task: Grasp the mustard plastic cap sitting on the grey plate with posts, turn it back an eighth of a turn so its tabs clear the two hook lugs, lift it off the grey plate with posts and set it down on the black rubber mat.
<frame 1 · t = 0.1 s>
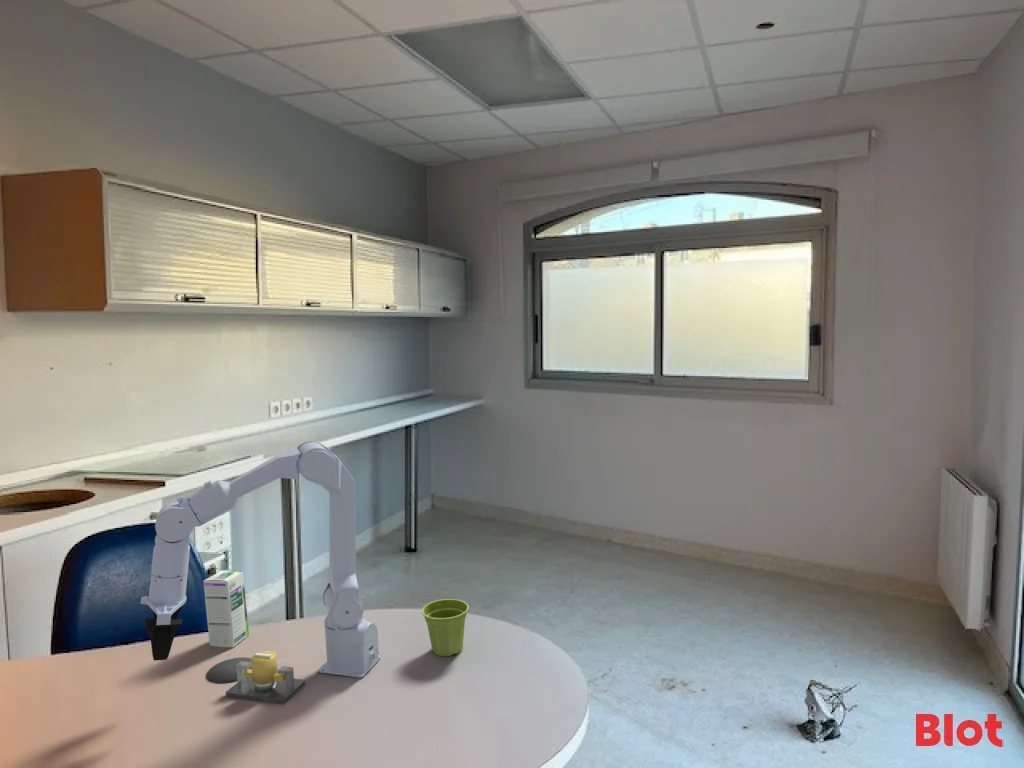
hand: (162, 649, 120), 11 cm above the table, tool pointing down, fingers open, 7 cm apart
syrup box: (229, 641, 145), on the table
plant pot: (447, 650, 138), on the table
grey plate with posts: (266, 690, 125), on the table
mat: (232, 670, 133), on the table
cap: (265, 677, 125), point 2 cm above the table, touching grey plate with posts
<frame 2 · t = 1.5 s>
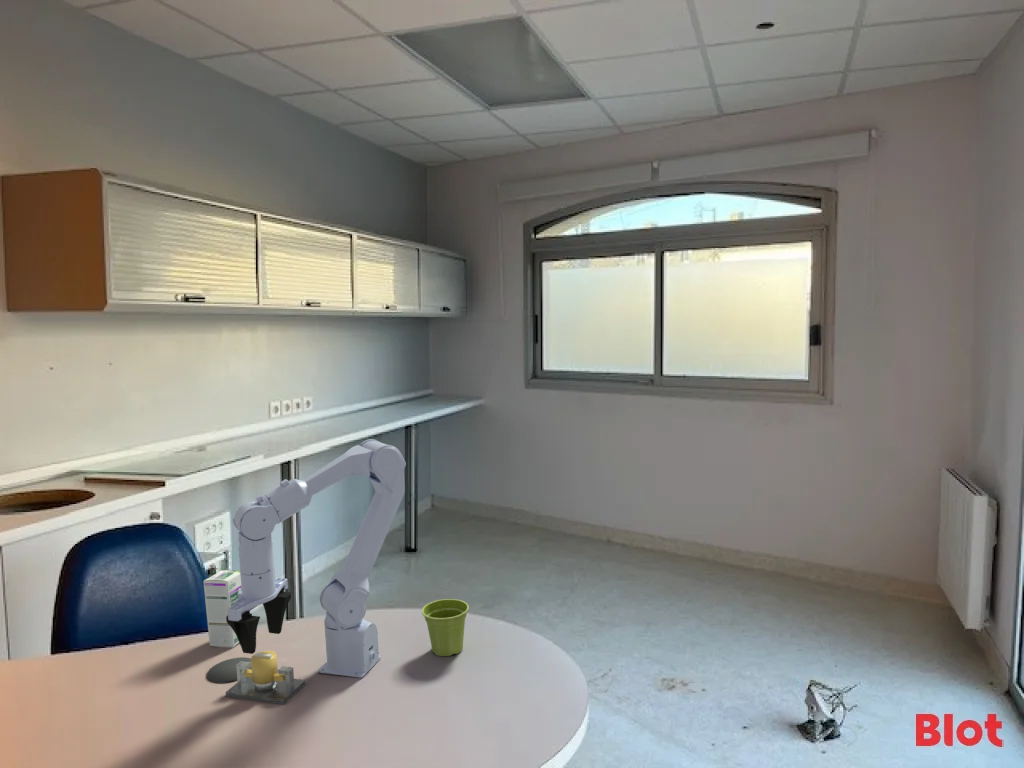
hand: (262, 642, 124), 9 cm above the table, tool pointing down, fingers open, 7 cm apart
nothing on the table moved.
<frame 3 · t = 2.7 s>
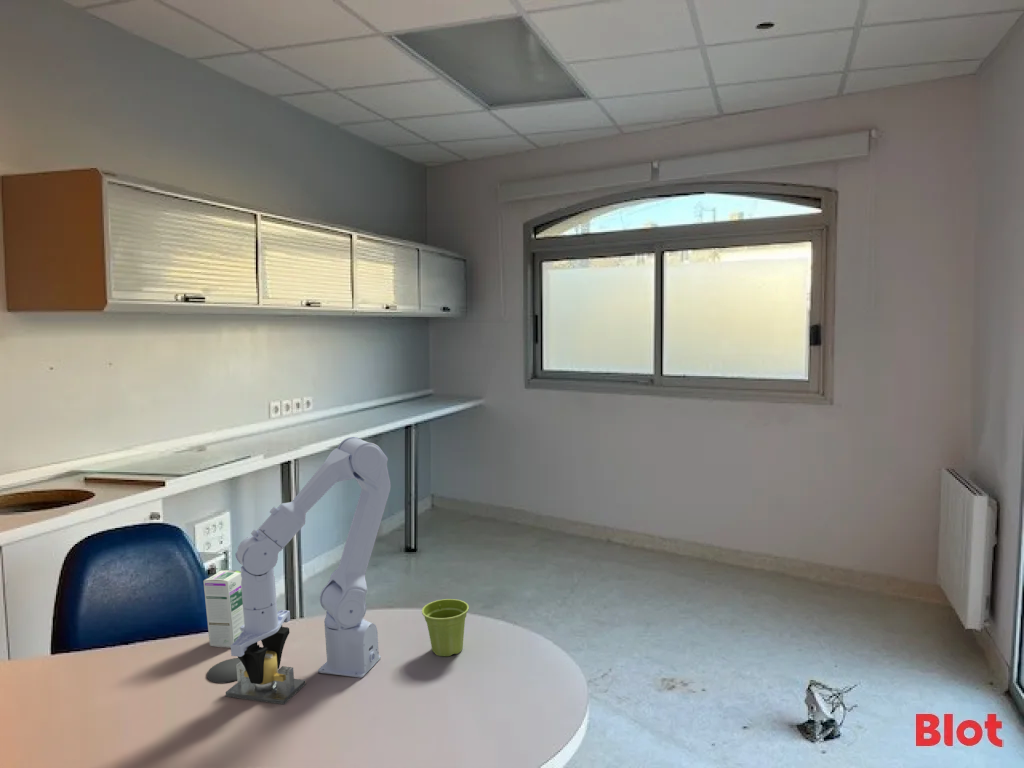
hand: (265, 675, 125), 3 cm above the table, tool pointing down, fingers closed on cap, 4 cm apart
cap: (265, 677, 125), point 2 cm above the table, touching grey plate with posts, gripper
everything else where it was.
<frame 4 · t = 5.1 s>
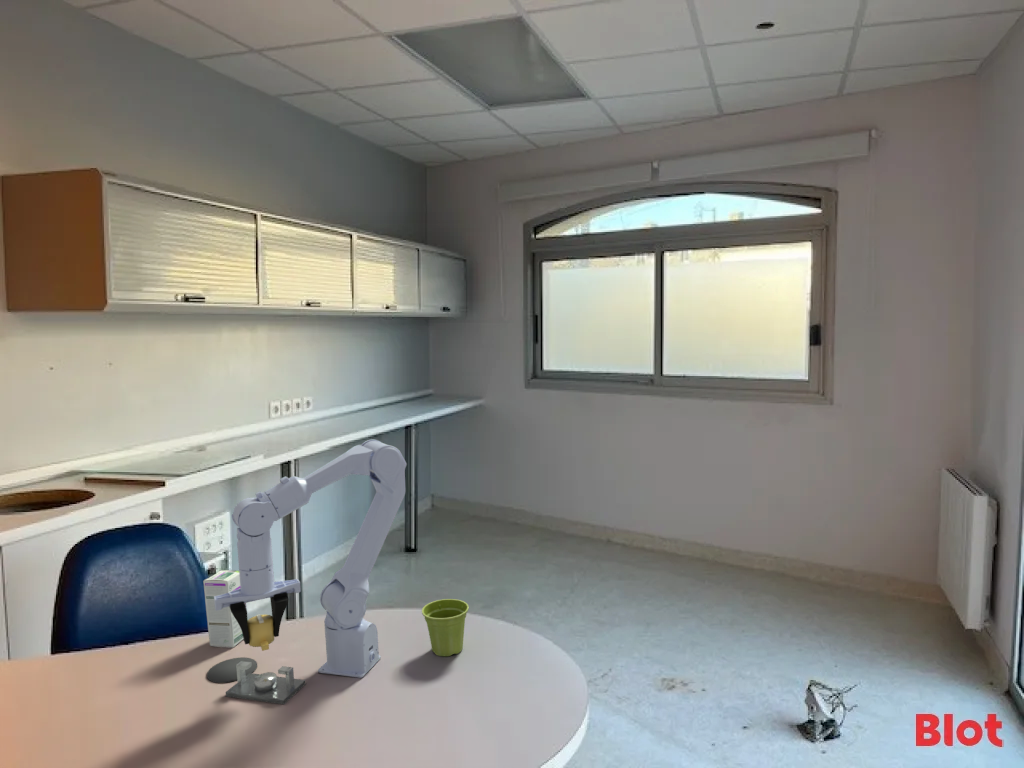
hand: (261, 638, 124), 10 cm above the table, tool pointing down, fingers closed on cap, 4 cm apart
cap: (261, 641, 124), point 9 cm above the table, touching gripper
everything else where it was.
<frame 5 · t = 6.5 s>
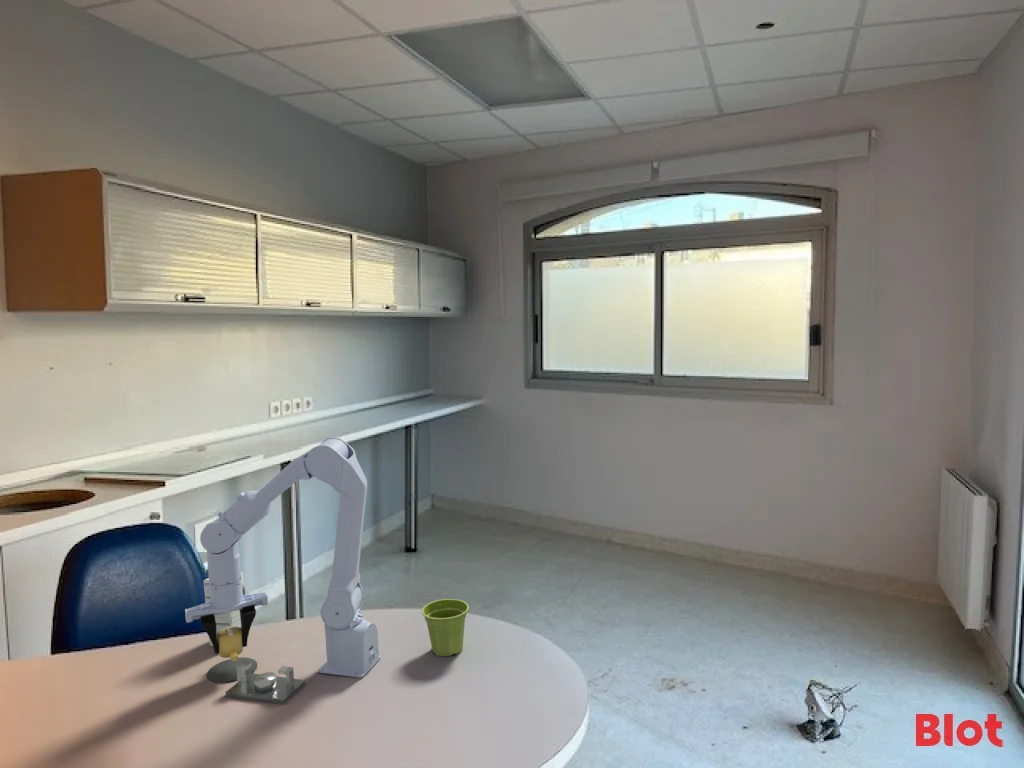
hand: (230, 648, 132), 4 cm above the table, tool pointing down, fingers closed on cap, 4 cm apart
cap: (230, 651, 132), point 4 cm above the table, touching gripper
everything else where it was.
when the fingers open (2 cm above the table, at t = 7.7 s): cap drops 1 cm, resting on mat.
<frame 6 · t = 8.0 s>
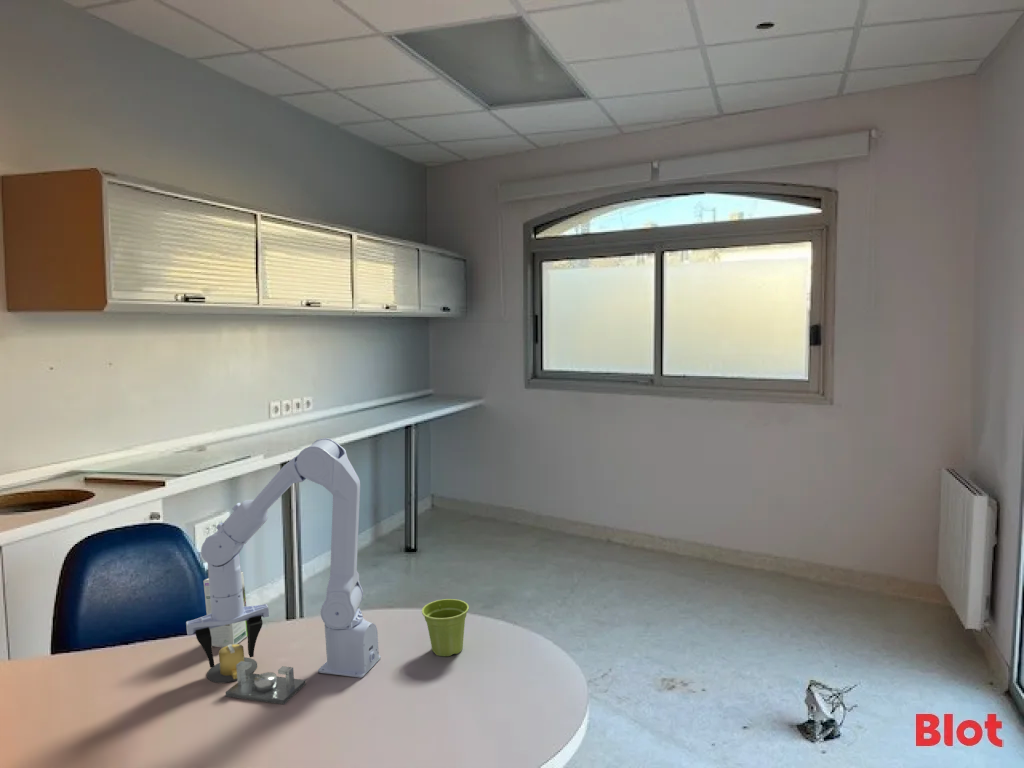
hand: (231, 660, 132), 2 cm above the table, tool pointing down, fingers open, 6 cm apart
cap: (232, 669, 132), resting on mat
everything else where it was.
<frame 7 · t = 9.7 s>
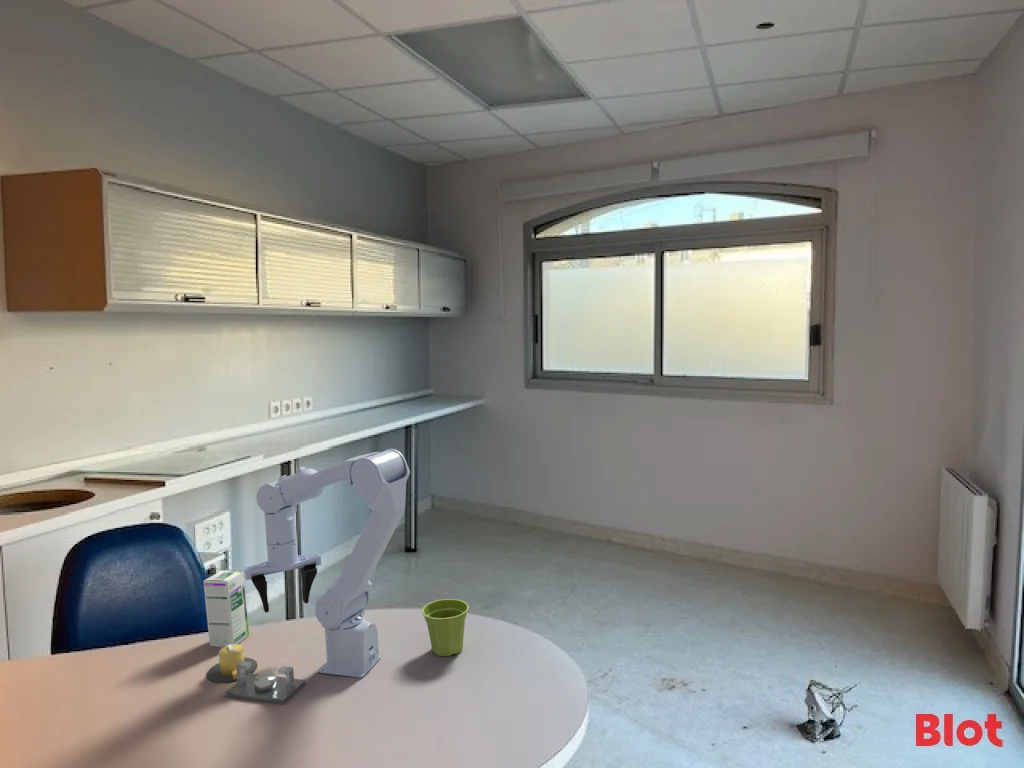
hand: (286, 606, 138), 10 cm above the table, tool pointing down, fingers open, 7 cm apart
nothing on the table moved.
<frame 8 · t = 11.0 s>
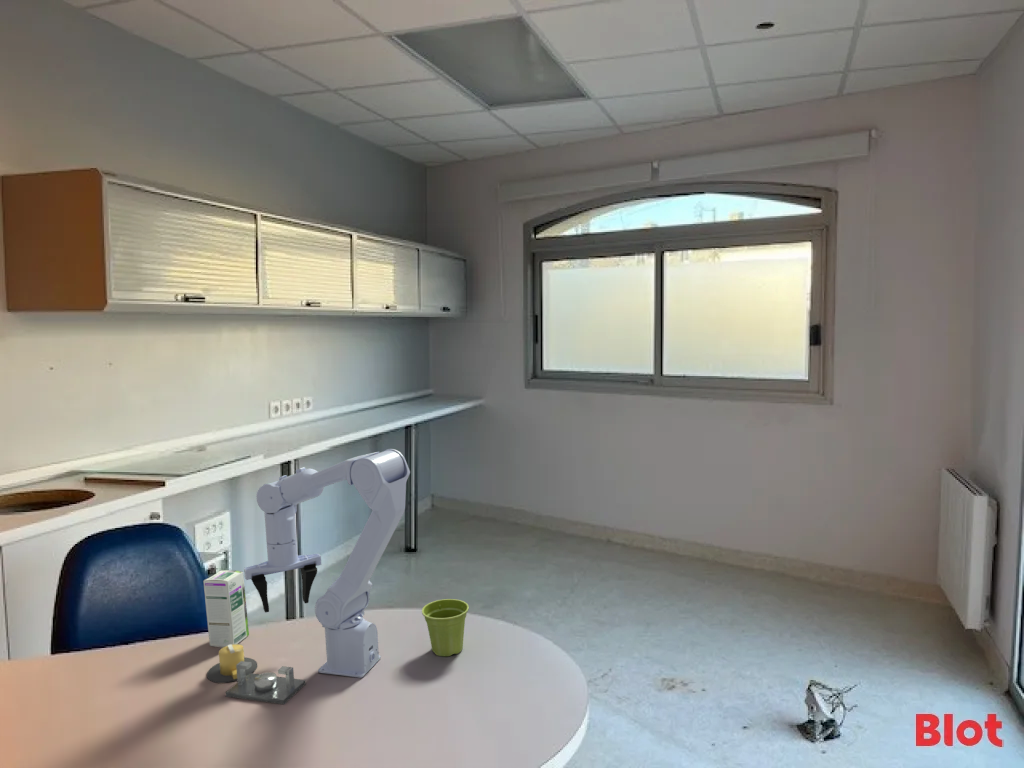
hand: (286, 605, 138), 10 cm above the table, tool pointing down, fingers open, 7 cm apart
nothing on the table moved.
at the end: cap inside the target area on the mat (0.3 cm from its centre), point 0.3 cm above the mat's base; cap tilted 0°; the gripper is holding nothing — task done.
